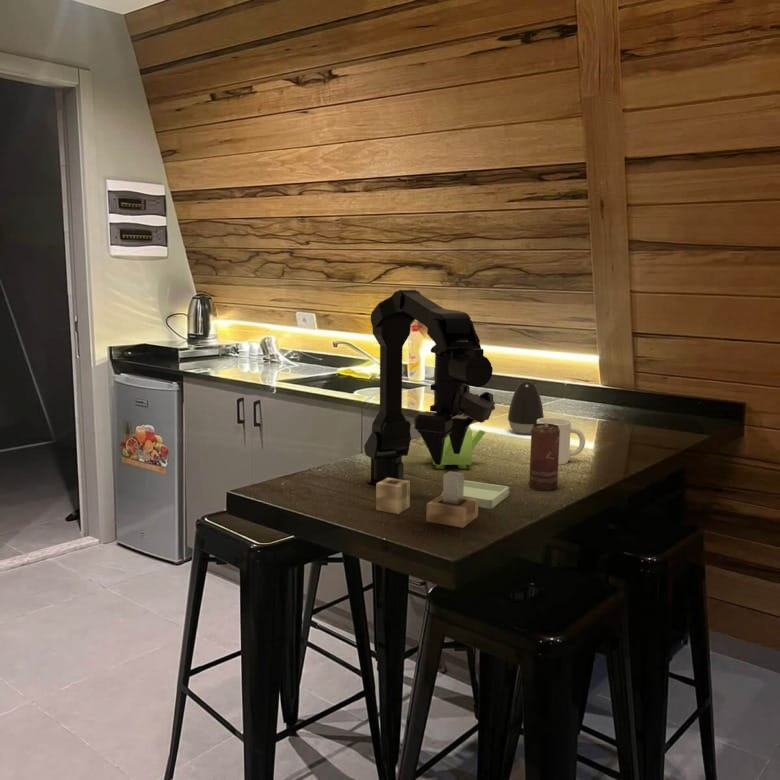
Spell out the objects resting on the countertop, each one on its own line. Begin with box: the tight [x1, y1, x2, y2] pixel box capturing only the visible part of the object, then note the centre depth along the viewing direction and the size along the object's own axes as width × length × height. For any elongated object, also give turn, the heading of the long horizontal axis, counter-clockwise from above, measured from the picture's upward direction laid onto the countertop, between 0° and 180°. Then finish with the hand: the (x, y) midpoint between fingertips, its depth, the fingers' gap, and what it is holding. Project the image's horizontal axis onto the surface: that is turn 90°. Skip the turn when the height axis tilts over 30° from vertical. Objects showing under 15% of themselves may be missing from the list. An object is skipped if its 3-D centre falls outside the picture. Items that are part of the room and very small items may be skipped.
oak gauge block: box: [425, 493, 479, 529], centre depth 154 cm, size 8×8×4 cm
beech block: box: [375, 478, 411, 515], centre depth 160 cm, size 5×5×6 cm
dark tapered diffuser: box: [507, 380, 545, 435], centre depth 231 cm, size 10×10×15 cm
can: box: [529, 423, 560, 492], centre depth 176 cm, size 6×6×14 cm
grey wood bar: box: [442, 470, 465, 506], centre depth 154 cm, size 3×3×9 cm
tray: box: [441, 479, 511, 510], centre depth 168 cm, size 11×11×2 cm
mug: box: [537, 417, 586, 466], centre depth 198 cm, size 12×8×10 cm
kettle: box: [411, 424, 486, 470], centre depth 194 cm, size 15×14×11 cm
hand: (447, 458), depth 153 cm, fingers open, 9 cm apart
